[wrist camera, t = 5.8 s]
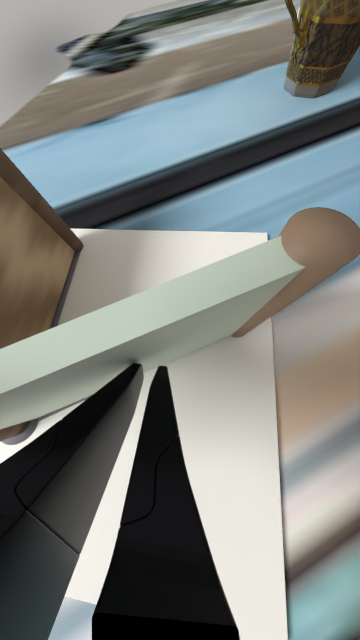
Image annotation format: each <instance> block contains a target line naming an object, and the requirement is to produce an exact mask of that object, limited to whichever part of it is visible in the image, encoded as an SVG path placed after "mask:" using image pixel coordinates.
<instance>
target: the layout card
mask: <svg viewBox="0 0 360 640" xmlns="http://www.w3.org/2000/svg"><path fill="white" fill-rule="evenodd" d="M71 230H72V231H73V232H74V233H75V235H76V236H77V237H78V238H79V239H80V240H81V242H82V243H83V249H82V251H79V252H78V253H77V254H74V256H73V259H72V262H71V265H70V268H69V271H68V274H67V277H66V281H65V284H64V287H63V290H62V293H61V296H60V299H59V302H58V305H57V308H56V311H55V314H54V318H53V321H52V324H51V327H50V329H51V328H54V327H56V326H59V325H61V324H64V323H66V322H68V321H71V320H73V319H76V318H78V317H81V316H83V315H86V314H88V313H91V312H93V311H96V310H98V309H101V308H103V307H106V306H108V305H111V304H113V303H115V302H118V301H120V300H123V299H125V298H128V297H130V296H133V295H135V294H138V293H140V292H143V291H145V290H148V289H150V288H153V287H155V286H157V285H160V284H162V283H165V282H167V281H170V280H172V279H175V278H177V277H180V276H182V275H185V274H187V273H190V272H192V271H195V270H197V269H200V268H202V267H204V266H207V265H209V264H212V263H214V262H217V261H219V260H222V259H224V258H227V257H229V256H232V255H234V254H237V253H239V252H242V251H244V250H247V249H249V248H251V247H254V246H256V245H259V244H261V243H264V242H266V241H268V238H267V233H245V232H201V231H156V230H112V229H71ZM161 366H167V368H168V374H169V379H170V385H171V390H172V396H173V402H174V407H175V413H176V419H177V424H178V430H179V436H180V441H181V446H182V451H183V456H184V461H185V465H186V469H187V473H188V477H189V480H190V484H191V487H192V491H193V494H194V498H195V501H196V504H197V508H198V511H199V514H200V518H201V521H202V524H203V528H204V531H205V534H206V538H207V541H208V544H209V548H210V551H211V554H212V557H213V560H214V564H215V567H216V570H217V573H218V576H219V579H220V582H221V584H222V587H223V590H224V593H225V596H226V598H227V601H228V604H229V607H230V609H231V612H232V614H233V617H234V620H235V622H236V625H237V627H238V630H239V637H240V640H288V634H287V615H286V595H285V575H284V555H283V535H282V515H281V496H280V476H279V456H278V436H277V416H276V396H275V377H274V357H273V337H272V317H270V318H269V319H267V320H266V321H264V322H263V323H261V324H260V325H258V326H257V327H256V328H254V329H253V330H251V331H250V332H248V333H247V334H245V335H244V336H242V337H239V338H235V337H232V336H229V337H227V338H224V339H222V340H220V341H217V342H215V343H213V344H210V345H208V346H206V347H203V348H201V349H199V350H196V351H194V352H192V353H189V354H187V355H184V356H182V357H180V358H177V359H175V360H173V361H170V362H168V363H166V364H163V365H161ZM157 368H158V367H156V368H154V369H152V370H149V371H147V372H144V373H143V374H144V380H143V384H142V388H141V391H140V395H139V399H138V403H137V406H136V410H135V413H134V416H133V419H132V421H131V424H130V427H129V429H128V432H127V434H126V437H125V440H124V442H123V445H122V447H121V450H120V453H119V455H118V458H117V460H116V463H115V466H114V468H113V471H112V473H111V476H110V479H109V481H108V484H107V486H106V489H105V492H104V494H103V497H102V499H101V502H100V505H99V507H98V510H97V512H96V515H95V518H94V520H93V523H92V525H91V528H90V531H89V533H88V536H87V538H86V541H85V544H84V546H83V549H82V551H81V554H80V557H79V560H78V562H77V565H76V567H75V570H74V573H73V575H72V578H71V580H70V583H69V586H68V588H67V591H66V593H65V596H66V597H70V598H73V599H77V600H81V601H85V602H89V603H92V604H96V605H97V602H98V599H99V596H100V593H101V590H102V587H103V584H104V581H105V578H106V575H107V572H108V569H109V566H110V562H111V558H112V555H113V551H114V547H115V543H116V539H117V534H118V530H119V528H120V521H121V516H122V512H123V507H124V502H125V498H126V493H127V489H128V484H129V480H130V475H131V470H132V466H133V461H134V457H135V452H136V448H137V443H138V438H139V434H140V429H141V425H142V420H143V416H144V411H145V406H146V402H147V397H148V393H149V389H150V385H151V383H152V380H153V378H154V375H155V373H156V371H157ZM90 396H92V395H90ZM90 396H88V397H86V398H83V399H81V400H79V401H76V402H74V403H72V404H69V405H67V406H65V407H62V408H60V409H57V410H55V411H53V412H50V413H48V414H46V415H43V416H41V417H39V418H36V419H33V420H31V421H30V423H29V425H28V427H27V428H26V430H25V431H24V432H23V433H21V434H19V435H17V436H14V437H12V438H9V439H6V440H4V441H1V442H0V463H2V462H3V461H5V460H6V459H7V458H9V457H10V456H12V455H13V454H15V453H16V452H18V451H19V450H20V449H22V448H23V447H25V446H26V445H27V444H29V443H30V442H32V441H33V440H34V439H36V438H37V437H38V436H40V435H41V434H42V433H44V432H45V431H46V430H48V429H49V428H50V427H52V426H53V425H54V424H55V423H57V422H58V421H59V420H62V418H63V417H65V416H66V415H67V414H68V413H70V412H71V411H72V410H74V409H75V408H76V407H77V406H79V405H80V404H81V403H83V402H84V401H85V400H86V399H88V398H89V397H90Z"/></svg>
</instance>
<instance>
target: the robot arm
mask: <svg viewBox="0 0 360 640" xmlns="http://www.w3.org/2000/svg"><path fill="white" fill-rule="evenodd" d="M143 380H144V374H143V366H142V364H140V363H133V364H131V365H130V366H129V367H128V368H126V369H125V370H124V371H122V372H121V373H120V374H119V375H117V376H116V377H115V378H113V379H112V380H111V381H110V382H108V383H107V384H106V385H104V386H103V387H102V388H101V389H99V390H98V391H97V392H95V393H94V394H93V395H92V396H90V397H89V398H88V399H86V400H85V401H84V402H83V403H81V404H80V405H79V406H77V407H76V408H75V409H74V410H72V411H71V412H70V413H68V414H67V415H66V416H65V417H63V418H62V420H59V421H58V422H57V423H55V424H54V425H53V426H52V427H50V428H49V429H48V430H46V431H45V432H44V433H42V434H41V435H40V436H38V437H37V438H36V439H34V440H33V441H32V442H30V443H29V444H27V445H26V446H25V447H23V448H22V449H20V450H19V451H18V452H16V453H15V454H13V455H12V456H10V457H9V458H7V459H6V460H5V461H3V462H2V463H0V640H48V638H49V635H50V632H51V630H52V627H53V625H54V622H55V619H56V617H57V614H58V612H59V609H60V606H61V604H62V601H63V599H64V596H65V593H66V591H67V588H68V586H69V583H70V580H71V578H72V575H73V573H74V570H75V567H76V565H77V562H78V560H79V557H80V554H81V551H82V549H83V546H84V544H85V541H86V538H87V536H88V533H89V531H90V528H91V525H92V523H93V520H94V518H95V515H96V512H97V510H98V507H99V505H100V502H101V499H102V497H103V494H104V492H105V489H106V486H107V484H108V481H109V479H110V476H111V473H112V471H113V468H114V466H115V463H116V460H117V458H118V455H119V453H120V450H121V447H122V445H123V442H124V440H125V437H126V434H127V432H128V429H129V427H130V424H131V421H132V419H133V416H134V413H135V410H136V406H137V403H138V399H139V395H140V391H141V388H142V384H143ZM92 640H240V637H239V630H238V627H237V625H236V622H235V620H234V617H233V614H232V612H231V609H230V607H229V604H228V601H227V598H226V596H225V593H224V590H223V587H222V584H221V582H220V579H219V576H218V573H217V570H216V567H215V564H214V560H213V557H212V554H211V551H210V548H209V544H208V541H207V538H206V534H205V531H204V528H203V524H202V521H201V518H200V514H199V511H198V508H197V504H196V501H195V498H194V494H193V491H192V487H191V484H190V480H189V477H188V473H187V469H186V465H185V461H184V456H183V451H182V446H181V441H180V436H179V430H178V424H177V419H176V413H175V407H174V402H173V396H172V390H171V385H170V379H169V374H168V368H167V366H158V368H157V371H156V373H155V375H154V378H153V380H152V383H151V385H150V389H149V393H148V397H147V402H146V406H145V411H144V416H143V420H142V425H141V429H140V434H139V438H138V443H137V448H136V452H135V457H134V461H133V466H132V470H131V475H130V480H129V484H128V489H127V493H126V498H125V502H124V507H123V512H122V516H121V521H120V528H119V530H118V534H117V539H116V543H115V547H114V551H113V555H112V558H111V562H110V566H109V569H108V572H107V575H106V578H105V581H104V584H103V587H102V590H101V593H100V596H99V599H98V602H97V605H96V608H95V611H94V614H93V617H92Z"/></svg>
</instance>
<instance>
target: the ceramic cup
mask: <svg viewBox="0 0 360 640" xmlns="http://www.w3.org/2000/svg"><path fill="white" fill-rule="evenodd" d="M285 2H286V6H287V8H288V10H289V13H290V15H291V18H292V23H293V30H294V32H295V35H294V40H293V45H292V49H291V54H290V59H289V63H288V68H287V72H286V77H285V81H284V89H286V90H287V91H288V92H289V93H290V94H291V95H293V96H297V97H307V98H315V97H318V96H320V95H323V94H326V93H328V92H330V91H331V90H332V89H333V88H334V86H335V85H336V83H337V81H338V80H339V78H340V77H341V75H342V73H343V72H344V70H345V68H346V67H347V65H348V63H349V62H350V60H351V58H352V57H353V55H354V54H355V52H356V50H357V49H358V47H359V46H360V0H301V3H300V10H299V15H298V19H297V13H296V10H295V8H294V5H293V3H292V0H285Z"/></svg>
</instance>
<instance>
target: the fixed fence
mask: <svg viewBox="0 0 360 640" xmlns="http://www.w3.org/2000/svg"><path fill="white" fill-rule="evenodd" d="M82 249H83V243H82V242H81V240H80V239H79V238H78V237H77V236H76V235H75V233H74V232H73V231H72V230H71V229H70V228H69V227H68V225H67V224H66V223H65V222H64V221H63V220H62V219H61V217H60V216H59V215H58V214H57V213H56V212H55V211H54V209H53V208H52V207H51V206H50V205H49V204H48V202H47V201H46V200H45V199H44V198H43V197H42V196H41V194H40V193H39V192H38V191H37V190H36V189H35V188H34V186H33V185H32V184H31V183H30V182H29V181H28V179H27V178H26V177H25V176H24V175H23V174H22V173H21V171H20V170H19V169H18V168H17V167H16V166H15V165H14V163H13V162H12V161H11V160H10V159H9V158H8V156H7V155H6V154H5V153H4V152H3V151H2V150H1V148H0V349H2V348H4V347H7V346H9V345H12V344H14V343H17V342H19V341H21V340H24V339H26V338H29V337H31V336H34V335H36V334H39V333H41V332H44V331H46V330H49V329H50V327H51V324H52V321H53V318H54V314H55V311H56V308H57V305H58V302H59V299H60V296H61V293H62V290H63V287H64V284H65V281H66V277H67V274H68V271H69V268H70V265H71V262H72V259H73V256H74V254H77V253H78V252H79V251H82ZM30 421H31V420H29V421H26V422H23V423H20V424H16V425H13V426H10V427H7V428H3V429H0V442H1V441H4V440H6V439H9V438H12V437H14V436H17V435H19V434H21V433H23V432H24V431H25V430H26V428H27V427H28V425H29V423H30Z"/></svg>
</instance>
